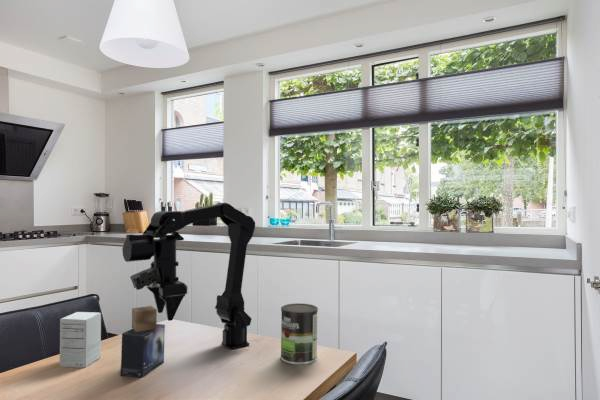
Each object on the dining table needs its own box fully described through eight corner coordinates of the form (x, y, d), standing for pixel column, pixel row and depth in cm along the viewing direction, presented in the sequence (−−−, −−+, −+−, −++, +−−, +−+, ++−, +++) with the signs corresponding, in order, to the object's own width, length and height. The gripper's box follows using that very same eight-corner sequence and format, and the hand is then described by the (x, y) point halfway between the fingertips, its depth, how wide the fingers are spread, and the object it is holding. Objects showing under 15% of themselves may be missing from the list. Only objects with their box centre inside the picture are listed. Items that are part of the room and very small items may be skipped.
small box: (142, 378, 100) (143, 335, 100) (119, 376, 101) (119, 333, 101) (165, 362, 110) (166, 323, 110) (143, 360, 111) (144, 322, 112)
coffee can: (300, 368, 106) (300, 314, 107) (273, 358, 113) (273, 307, 114) (325, 357, 114) (325, 307, 114) (298, 349, 121) (298, 301, 121)
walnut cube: (151, 324, 109) (151, 305, 109) (156, 329, 105) (156, 309, 105) (131, 327, 106) (132, 308, 107) (135, 332, 102) (136, 312, 102)
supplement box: (76, 356, 114) (76, 311, 114) (101, 357, 113) (102, 312, 113) (58, 367, 106) (59, 318, 107) (85, 368, 106) (86, 319, 106)
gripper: (125, 256, 112) (125, 313, 112) (142, 264, 97) (142, 330, 97) (166, 253, 118) (166, 307, 118) (188, 261, 103) (188, 322, 103)
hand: (165, 316), depth 109 cm, fingers open, 9 cm apart
